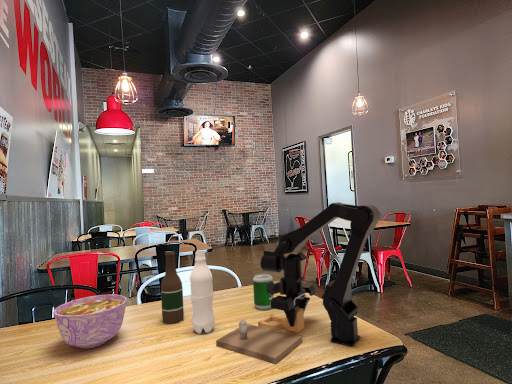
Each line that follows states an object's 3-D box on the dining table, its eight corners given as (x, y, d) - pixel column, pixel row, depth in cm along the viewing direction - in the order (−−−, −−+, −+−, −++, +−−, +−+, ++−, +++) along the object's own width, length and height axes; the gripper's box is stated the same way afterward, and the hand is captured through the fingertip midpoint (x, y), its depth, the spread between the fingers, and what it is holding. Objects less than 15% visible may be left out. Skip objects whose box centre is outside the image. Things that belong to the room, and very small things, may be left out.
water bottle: (210, 335, 98) (206, 253, 99) (188, 334, 100) (184, 254, 100) (218, 326, 105) (214, 249, 106) (197, 325, 107) (193, 250, 107)
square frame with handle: (306, 325, 102) (305, 306, 102) (295, 334, 96) (294, 314, 96) (270, 318, 110) (269, 300, 110) (258, 325, 104) (257, 307, 104)
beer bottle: (187, 316, 116) (184, 249, 117) (180, 324, 108) (176, 253, 109) (166, 316, 117) (163, 250, 117) (158, 324, 109) (154, 254, 110)
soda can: (266, 312, 116) (265, 278, 116) (250, 308, 121) (248, 276, 121) (278, 305, 122) (276, 274, 122) (262, 302, 127) (260, 272, 127)
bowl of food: (43, 364, 86) (42, 320, 86) (66, 334, 105) (65, 299, 105) (124, 351, 91) (122, 310, 91) (131, 325, 110) (130, 291, 110)
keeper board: (302, 341, 91) (300, 318, 91) (275, 364, 80) (274, 337, 80) (246, 328, 103) (245, 307, 103) (216, 345, 91) (215, 322, 91)
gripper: (285, 265, 113) (288, 310, 112) (254, 277, 98) (256, 329, 97) (314, 268, 106) (317, 315, 106) (285, 281, 91) (288, 337, 91)
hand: (295, 323), depth 100 cm, fingers closed on square frame with handle, 4 cm apart
